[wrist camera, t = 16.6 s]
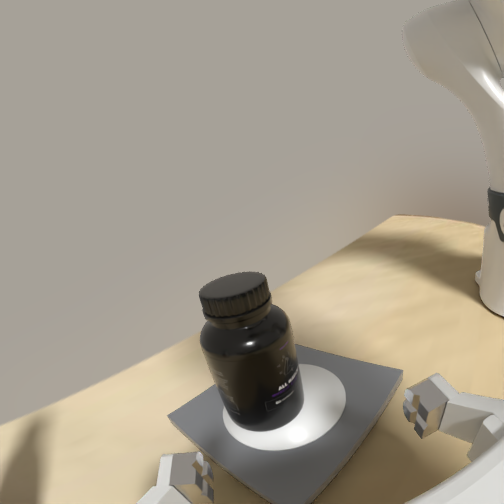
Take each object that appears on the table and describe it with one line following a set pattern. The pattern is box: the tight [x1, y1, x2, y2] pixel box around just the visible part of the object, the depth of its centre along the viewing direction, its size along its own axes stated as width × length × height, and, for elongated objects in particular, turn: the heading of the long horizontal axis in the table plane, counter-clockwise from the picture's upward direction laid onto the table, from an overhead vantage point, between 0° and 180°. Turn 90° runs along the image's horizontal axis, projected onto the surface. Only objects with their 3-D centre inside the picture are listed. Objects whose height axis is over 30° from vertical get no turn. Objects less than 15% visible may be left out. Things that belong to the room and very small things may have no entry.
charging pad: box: [167, 344, 403, 504], centre depth 23 cm, size 16×16×1 cm
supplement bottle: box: [199, 272, 304, 432], centre depth 21 cm, size 7×7×12 cm
